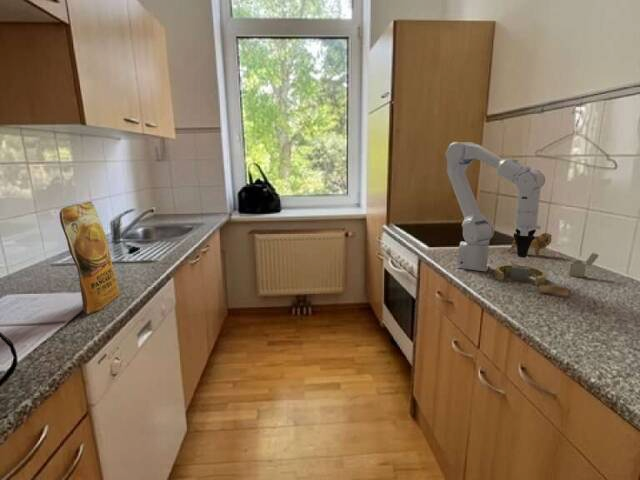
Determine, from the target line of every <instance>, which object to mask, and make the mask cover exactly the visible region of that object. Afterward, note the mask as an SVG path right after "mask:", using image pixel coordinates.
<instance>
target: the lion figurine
mask: <svg viewBox="0 0 640 480" xmlns="http://www.w3.org/2000/svg"><path fill="white" fill-rule="evenodd" d="M552 236H553V235H552V234H550V233H548V232H544V233H541V234H540V235H537V236H535V238H534V239H533V241H532V242H531V244H530V247H529V249H534V250H533V253H534V255H535V256H536V257H539V258H540V257H541V255H540V250H543V249H546V248H547V247H548V246H549V245H550V244H551V242H552ZM515 249H517V245H516V241H515V239H514V240H513V241H512V244H511V246H510V248H509V249H508V250H507V252H513V253H515V252H516V250H515Z"/></svg>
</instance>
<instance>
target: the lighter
mask: <svg viewBox="0 0 640 480" xmlns="http://www.w3.org/2000/svg"><path fill="white" fill-rule="evenodd" d="M598 258H599V254H598V253H596V252H592V253H591V254H590V255H589V257H588V258H587V260H585V262H583V260H582V259H573V260H572V261H569V265H568V272H567V275H568V276H569V277H575V278H576V277H577V278H584V277H585V274H586V267H587V266H589V267H591V266H592V265H593V264H594V263H595V261H596V260H597V259H598Z"/></svg>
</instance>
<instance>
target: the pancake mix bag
mask: <svg viewBox="0 0 640 480" xmlns="http://www.w3.org/2000/svg"><path fill="white" fill-rule="evenodd" d="M59 221H60V222H59V223H60V226H61V228H62V231H63V234H64V235H65V239H66V243H67V247H68V250H69V253H70V256H71V258H72V260H73V262H74V264H75V267H76V270H77V273H78V274H77V275H78V278H79V280H78V281H79V287H80V295H81V301H82V309H83V313H84V314H86V315H89V314H92V313H95V312H99V311H100V310H102V309H104V308H106V307H107V306H108V305H110V304H111V303H112V302H113V301H114V300H116V299H117V298H118V297H120V295H121V292H120V288H119V285H118V281H117V278H116V274H115V269H114V266H113V262H112V256H111V251H110V246H109V244H108V240H107V237H106V233H105V230H104V227H103V225H102V224H103V223H102V222H101V220H100V217H99V215H98V212H97V210H96V208H95V205H94V204H93V202H92V201H87V202H83V203H78V204H73V205H68V206H65V207H63V208H61V210H60V211H59Z"/></svg>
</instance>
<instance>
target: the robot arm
mask: <svg viewBox="0 0 640 480" xmlns="http://www.w3.org/2000/svg"><path fill="white" fill-rule="evenodd" d="M444 155H445V156H444V157H445V158H446V160H447V161H446V162H447V163H446V165H447V166H446V172H447V176H448V178H449V181H450V184H451V187H452V189H453V191H454V195H455V197H456V200H457V203H458V205H459V208H460V210H461V213H462V216H463V220H462V221H463V222H462V223H461V227H462V237H463V239H464V241H462V240H461V241H460V242H459V246H458V254H457V255H458V256H457V265H456V266H457V267H456V268H457V269H463V270H464V269H465V270H471V271H478V272H479V271H480V272H488V269H489V267H490V264H489V263H488V260H489V259H488V257H489V250H490V249H489V248H490V239H492V238H493V237H494V234H495V230H494V226H493V225H492V224H491V223H490V222H489V221H488V219H487V217H486V216H485V215H483V214H482V213H481V211H480V208H479V206H478V203H477V200H476V198H475V196H474V193H473V190H472V188H471V184H470V183H469V182H470V181H469V180H468V177H467V175H466V171H467V169H468V167H469V165H471V163H472V162H473V161H474V160H478V161H480V162H482V163H485V164H486V165H488V166H490V167H492V168H494V169H496V170H497V171H496V172H497V174H498V175H499V177H502V178H504V179H505V180H507V181H509V182H511V183H512V184H514V185H515V186H516V188H517V189H518V195H517V205H516V215H515V224H514V228H515V233H513V239H514V240H515V241H516V242H515V244H516V245H517V247H516V251H517V253H516V254H517V257H518V258H527V256H528V252H529V250H530V248H529V247H530V244H531V242H532V241H533V239H534V238H535V237H536V236H535V235H534V234H535V233H536V231H537V230H541V227H542V225H538V223H537V222H538V217H539V206H540V198H541V190H542V189H541V188H542V187H543V186H545V183H546V177H545V175H544V174H543V172H541V171H540V170H536V169H535V170H532V168H531V166H529V165H527V166H525V165H524V164H521V163H520V162H518V159H516V158H506V159H503V158H501V157H499V156H498V155H496V154H494V153H493V152H492V151H490V150H488V149H487V148H485V147H483V146H481V145H480V144H476V142H473V141H468V142H466V141H465V142H464V141H463V142H458V141H453V142H452V143H450V144H449V145H448V147H447V149H446V151H445V154H444Z"/></svg>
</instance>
